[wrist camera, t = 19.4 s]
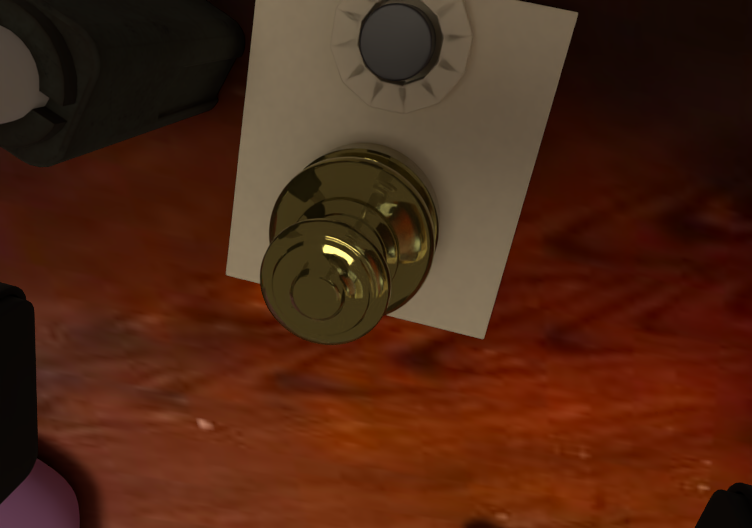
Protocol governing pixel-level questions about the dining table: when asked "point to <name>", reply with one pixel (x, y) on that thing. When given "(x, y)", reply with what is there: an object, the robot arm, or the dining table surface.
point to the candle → (106, 71)
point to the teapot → (41, 502)
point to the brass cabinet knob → (349, 243)
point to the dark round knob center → (397, 41)
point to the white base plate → (406, 128)
